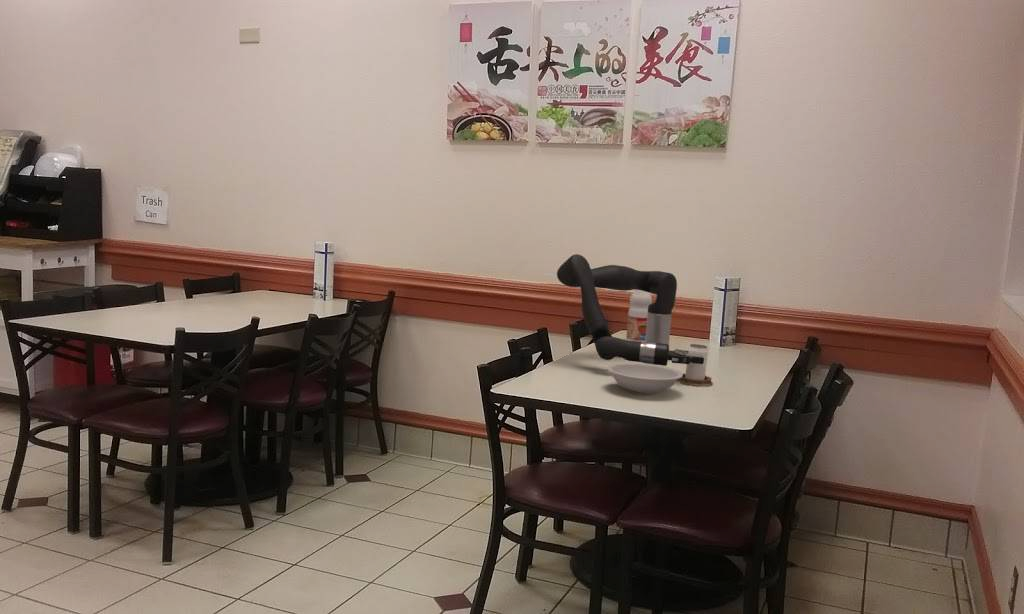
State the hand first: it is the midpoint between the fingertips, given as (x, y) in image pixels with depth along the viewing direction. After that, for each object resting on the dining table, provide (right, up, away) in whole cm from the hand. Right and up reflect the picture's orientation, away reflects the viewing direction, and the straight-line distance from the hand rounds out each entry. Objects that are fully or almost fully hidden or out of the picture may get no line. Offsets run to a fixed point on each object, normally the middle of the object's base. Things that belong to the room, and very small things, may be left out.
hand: (704, 359), depth 283 cm
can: (-3, -8, +2) cm, 8 cm away
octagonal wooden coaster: (-3, -8, +2) cm, 9 cm away
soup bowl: (-23, -9, -16) cm, 29 cm away
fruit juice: (-12, +2, +70) cm, 71 cm away
